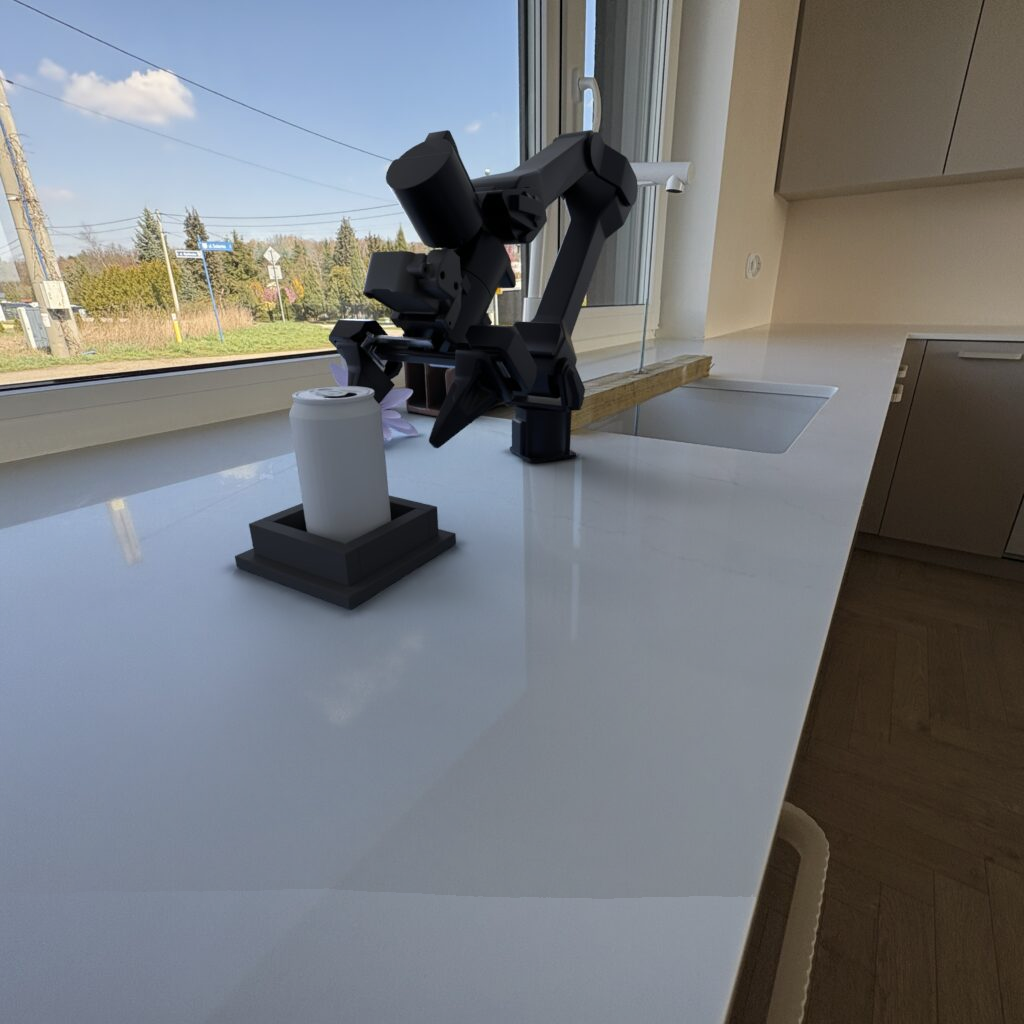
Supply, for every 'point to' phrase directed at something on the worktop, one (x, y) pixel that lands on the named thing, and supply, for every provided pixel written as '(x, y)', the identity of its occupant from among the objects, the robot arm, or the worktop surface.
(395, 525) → the socket pad
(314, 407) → the beverage can
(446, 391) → the letter holder
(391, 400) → the water lily
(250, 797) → the worktop surface
